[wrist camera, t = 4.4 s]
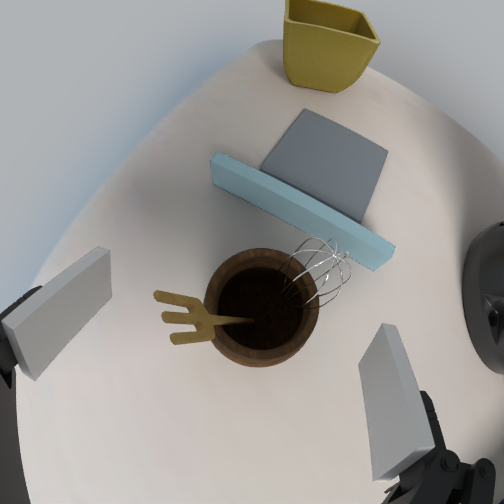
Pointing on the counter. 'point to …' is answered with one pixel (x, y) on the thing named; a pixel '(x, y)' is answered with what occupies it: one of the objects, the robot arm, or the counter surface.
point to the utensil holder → (254, 306)
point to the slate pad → (328, 164)
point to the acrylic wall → (300, 211)
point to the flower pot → (326, 44)
